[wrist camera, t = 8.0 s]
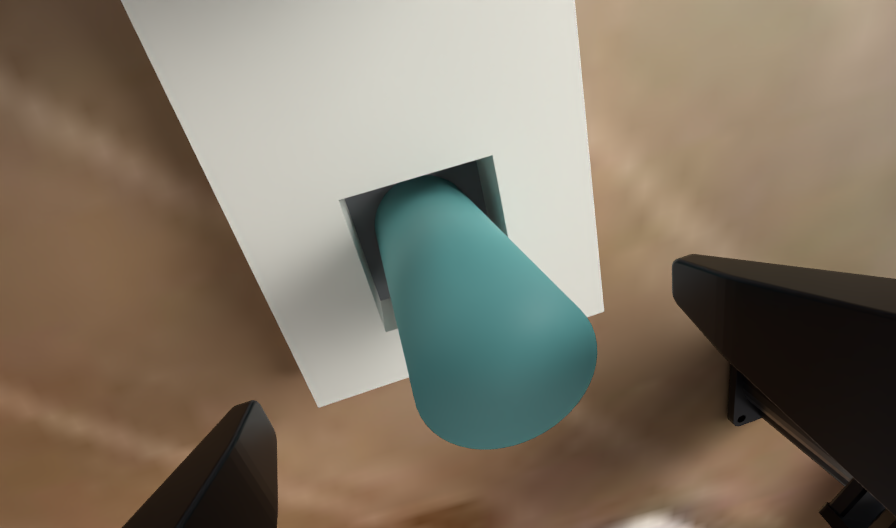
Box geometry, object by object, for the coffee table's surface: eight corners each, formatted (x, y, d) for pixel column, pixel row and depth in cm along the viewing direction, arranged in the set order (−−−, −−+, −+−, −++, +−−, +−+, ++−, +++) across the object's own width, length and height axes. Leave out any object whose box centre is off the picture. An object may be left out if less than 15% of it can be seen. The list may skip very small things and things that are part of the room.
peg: (480, 252, 17) (603, 412, 9) (391, 280, 17) (440, 473, 9) (460, 162, 16) (588, 262, 8) (361, 191, 15) (388, 328, 7)
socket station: (573, 283, 19) (778, 472, 10) (321, 365, 18) (301, 658, 9) (503, -271, 12) (1029, -1374, 3) (69, -187, 11) (-1363, -1531, 2)
